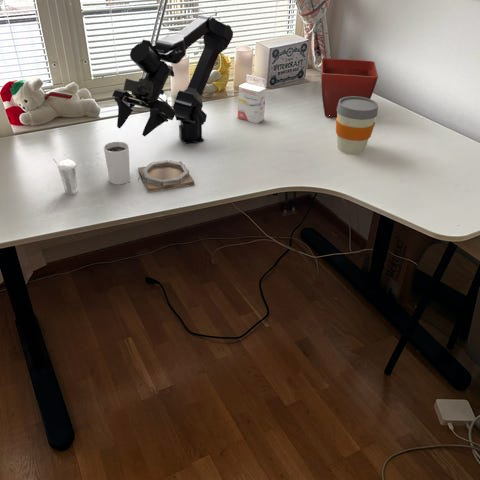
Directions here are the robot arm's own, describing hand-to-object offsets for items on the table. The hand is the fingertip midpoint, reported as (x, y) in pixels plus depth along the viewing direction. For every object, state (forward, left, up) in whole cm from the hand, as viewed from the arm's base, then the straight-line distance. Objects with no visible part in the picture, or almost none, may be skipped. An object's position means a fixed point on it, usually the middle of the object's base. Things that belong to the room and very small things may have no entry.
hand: (130, 131), depth 145 cm
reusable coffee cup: (-69, +6, -12) cm, 70 cm away
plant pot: (-82, -22, -12) cm, 86 cm away
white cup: (+5, +4, -12) cm, 14 cm away
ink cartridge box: (-47, -26, -12) cm, 55 cm away
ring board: (-8, +7, -12) cm, 16 cm away
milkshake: (+19, +7, -12) cm, 24 cm away
